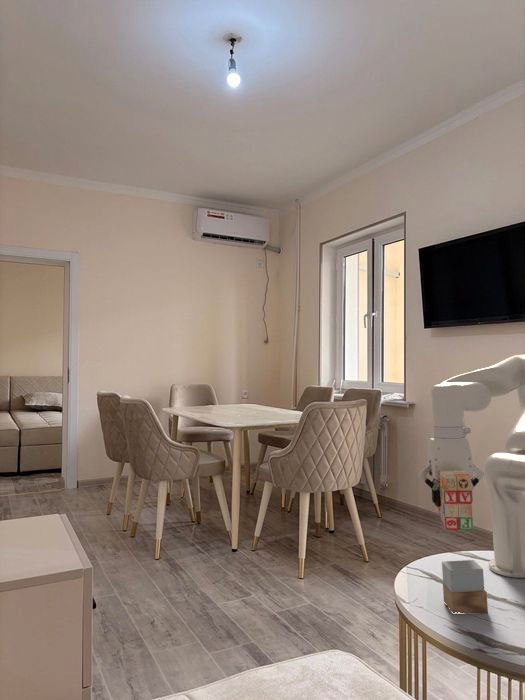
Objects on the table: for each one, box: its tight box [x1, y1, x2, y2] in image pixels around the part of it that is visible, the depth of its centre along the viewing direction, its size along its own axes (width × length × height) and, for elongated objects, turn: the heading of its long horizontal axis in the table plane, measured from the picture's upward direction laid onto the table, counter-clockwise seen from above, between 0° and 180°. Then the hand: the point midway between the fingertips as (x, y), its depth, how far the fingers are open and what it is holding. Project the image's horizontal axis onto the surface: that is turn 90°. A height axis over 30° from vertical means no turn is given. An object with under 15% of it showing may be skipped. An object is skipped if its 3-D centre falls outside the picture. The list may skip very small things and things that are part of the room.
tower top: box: [441, 559, 485, 593], centre depth 124 cm, size 8×6×5 cm
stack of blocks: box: [435, 471, 474, 532], centre depth 132 cm, size 21×6×12 cm, turn 168°
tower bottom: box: [442, 582, 489, 614], centre depth 123 cm, size 8×6×5 cm
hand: (452, 504), depth 131 cm, fingers closed on stack of blocks, 6 cm apart
